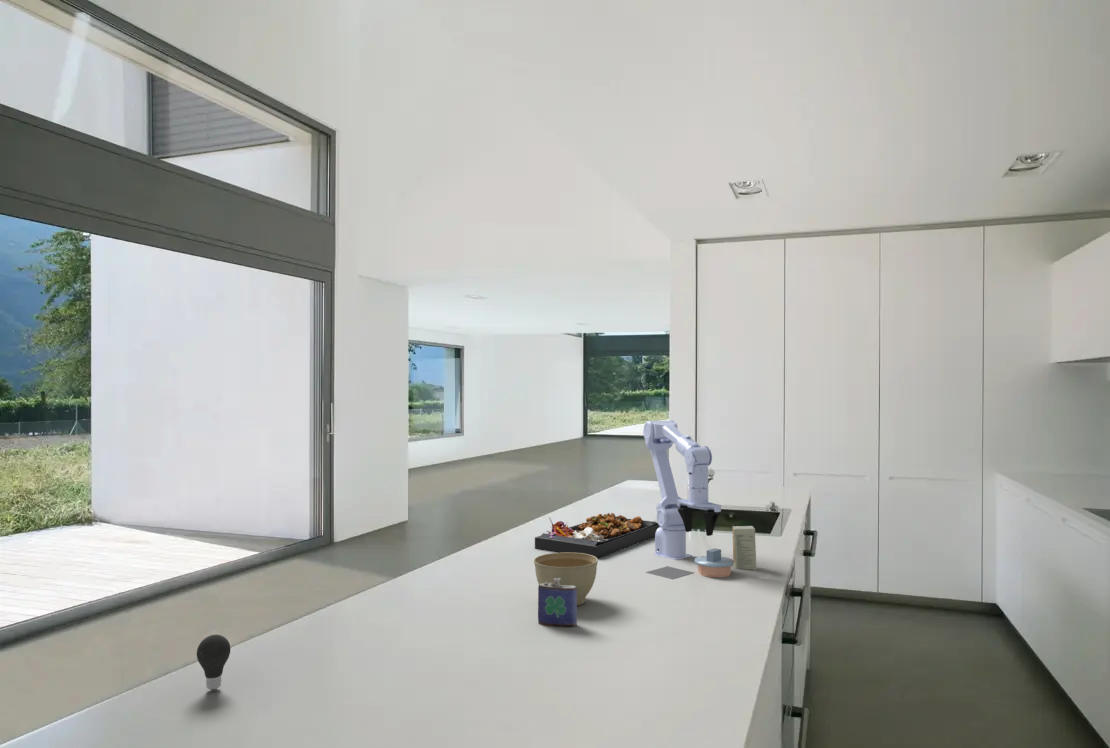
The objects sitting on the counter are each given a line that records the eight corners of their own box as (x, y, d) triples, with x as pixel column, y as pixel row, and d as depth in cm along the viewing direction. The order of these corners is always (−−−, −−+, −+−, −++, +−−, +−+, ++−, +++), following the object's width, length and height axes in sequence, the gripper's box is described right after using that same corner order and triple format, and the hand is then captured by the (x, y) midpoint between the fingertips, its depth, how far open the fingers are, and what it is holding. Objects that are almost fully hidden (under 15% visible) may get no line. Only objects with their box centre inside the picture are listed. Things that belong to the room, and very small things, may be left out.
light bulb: (203, 684, 136) (203, 630, 136) (235, 683, 136) (235, 629, 136) (191, 697, 130) (191, 641, 130) (224, 696, 131) (223, 640, 131)
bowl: (692, 574, 211) (692, 562, 211) (710, 568, 217) (710, 556, 217) (718, 580, 204) (718, 568, 204) (736, 574, 210) (736, 562, 210)
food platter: (596, 561, 229) (596, 528, 229) (534, 550, 244) (534, 519, 244) (663, 535, 265) (663, 507, 266) (606, 527, 280) (606, 500, 280)
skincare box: (754, 566, 219) (753, 525, 219) (756, 570, 214) (756, 528, 215) (732, 566, 219) (731, 525, 219) (734, 569, 215) (734, 528, 215)
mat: (645, 573, 211) (645, 572, 211) (667, 567, 218) (667, 566, 218) (672, 580, 204) (672, 579, 204) (694, 574, 211) (694, 572, 211)
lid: (686, 562, 211) (686, 549, 211) (709, 555, 218) (709, 543, 218) (718, 569, 202) (718, 556, 203) (741, 562, 210) (741, 550, 210)
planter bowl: (607, 597, 189) (606, 555, 189) (583, 615, 174) (582, 569, 174) (550, 589, 196) (550, 549, 196) (523, 607, 181) (522, 563, 181)
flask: (578, 624, 168) (577, 577, 168) (574, 628, 165) (574, 581, 166) (539, 620, 171) (539, 575, 171) (536, 625, 168) (535, 578, 168)
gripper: (670, 486, 220) (671, 531, 220) (710, 491, 209) (711, 539, 209) (685, 484, 224) (685, 528, 224) (725, 489, 214) (725, 535, 214)
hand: (698, 533), depth 217 cm, fingers open, 7 cm apart
